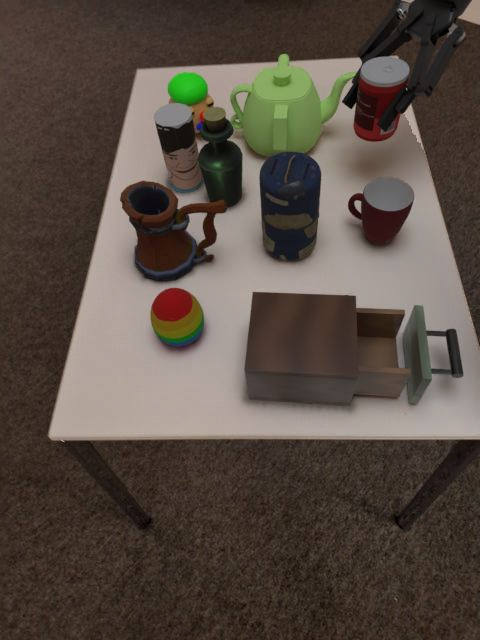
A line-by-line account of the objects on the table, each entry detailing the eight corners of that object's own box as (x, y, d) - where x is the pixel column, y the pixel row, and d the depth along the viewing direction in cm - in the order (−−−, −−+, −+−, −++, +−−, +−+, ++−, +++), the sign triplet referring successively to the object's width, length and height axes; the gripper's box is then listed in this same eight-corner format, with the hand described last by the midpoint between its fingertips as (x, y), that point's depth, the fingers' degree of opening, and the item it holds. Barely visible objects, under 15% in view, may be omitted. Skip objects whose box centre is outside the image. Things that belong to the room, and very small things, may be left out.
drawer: (444, 335, 73) (460, 306, 67) (454, 406, 67) (473, 381, 61) (321, 330, 75) (325, 301, 69) (320, 397, 69) (324, 373, 63)
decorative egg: (206, 308, 80) (197, 270, 72) (207, 351, 76) (197, 316, 67) (158, 312, 81) (143, 275, 72) (155, 355, 76) (140, 321, 68)
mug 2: (335, 240, 86) (340, 198, 78) (352, 210, 90) (359, 167, 81) (392, 259, 83) (405, 217, 75) (408, 228, 86) (421, 184, 78)
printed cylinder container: (166, 191, 96) (149, 125, 84) (174, 169, 100) (158, 102, 87) (199, 193, 95) (187, 126, 83) (206, 170, 99) (195, 103, 86)
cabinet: (348, 331, 76) (356, 295, 68) (350, 405, 69) (358, 376, 61) (255, 326, 78) (252, 291, 70) (248, 399, 71) (244, 369, 63)
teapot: (222, 136, 105) (214, 72, 92) (290, 97, 110) (291, 32, 98) (279, 179, 96) (279, 114, 84) (350, 134, 102) (359, 67, 90)
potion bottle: (223, 176, 98) (212, 93, 83) (254, 193, 94) (249, 109, 79) (196, 199, 95) (179, 117, 79) (227, 217, 91) (216, 135, 76)
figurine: (165, 128, 108) (153, 76, 98) (200, 110, 110) (192, 58, 100) (192, 153, 102) (183, 100, 92) (229, 133, 105) (223, 81, 95)
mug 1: (239, 238, 88) (231, 173, 76) (228, 289, 82) (218, 227, 70) (145, 231, 91) (123, 167, 78) (127, 280, 85) (101, 219, 72)
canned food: (401, 120, 87) (415, 59, 78) (389, 147, 83) (402, 86, 74) (360, 112, 89) (369, 52, 80) (346, 138, 86) (354, 78, 76)
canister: (325, 235, 87) (334, 152, 72) (301, 272, 83) (305, 192, 68) (278, 218, 90) (277, 135, 75) (253, 253, 86) (246, 172, 71)
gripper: (520, 14, 71) (416, 152, 80) (415, -29, 81) (333, 98, 90) (510, -15, 65) (399, 138, 74) (398, -57, 75) (313, 82, 84)
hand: (363, 116), depth 82 cm, fingers closed on canned food, 8 cm apart
